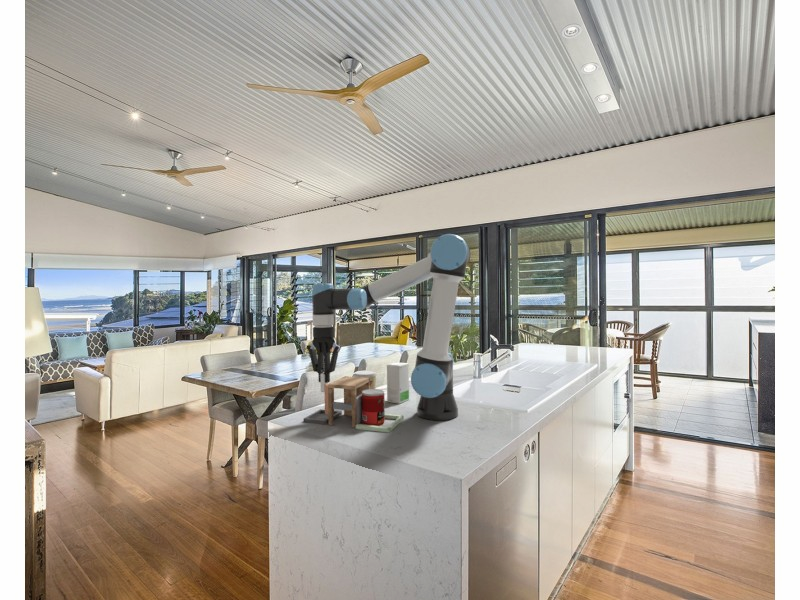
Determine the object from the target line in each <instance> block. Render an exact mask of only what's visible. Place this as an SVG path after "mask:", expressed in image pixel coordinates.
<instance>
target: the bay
mask: <svg viewBox="0 0 800 600" xmlns="http://www.w3.org/2000/svg"><path fill="white" fill-rule="evenodd" d="M404 418H405V417H404V415H403V414H402V415H401V414H390V413H385V419H386V420H387V419H389V420H394V421H393V422H392V423H391V424H390V425H389V426H382V425H379V426H373V425H364V424H363V423H360V424H357V425H356V428H355V430H362V431H363V430H364V431H372V432H382V433H391V432H392V431H393V430H394V429H395V428H396V427H398V425H399V424H400V423H401V422H402V421H403V420H404Z"/></svg>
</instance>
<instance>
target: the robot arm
mask: <svg viewBox="0 0 800 600" xmlns="http://www.w3.org/2000/svg"><path fill="white" fill-rule="evenodd" d="M470 259H471V249H470V246H469V245H468V244H467V241H465V239H464V238H463V237H461V236H459V235H457V234H453V233H446V234H442V235H440V236H439V237H437V238H436V239H435V240H434V241H433V243H432V245H431V247H430V252H429V254H428V256H427V257H424V258H422V259H420V260H418V261H416V262H413V263H411V264H409V265H407V266H405V267H403V268H401V269H398V270H396V271H393V272H392V273H390V274H387V275H385V276H383V277H381V278H379V279H377V280H375V281H373V282H370V283H368V284H366V285H364V286H361V287H359V288H357V287H356V288H355V287H354V288H353V287H352V288H334V287H335V286H334V284H333V283H314V284H313V285H312V290H311V291H312V292H311V293H312V294H311V298H312V300H311V301H312V326H313V327H312V337H313V338H312V342H311V343H310V344H308V345H306V349H307V351H308V352H309V357H310V362H311V366H312V367H311V368H312V370H313V372H314V373H315V372H316V373H317V375H318V383H320V393H325V391H324V385H326V384H329V383H331V378H330V377H331V373H333V372H335V370H336V366H337V360H338V356H339V352H340V350H341V349H342V346H341V345H339V344H337V343H336V341H335V339H334V337H335V327H334V324H335V319H334V318H335V316H334V314H335V311H338V310H339V311H341V310H342V311H350V310H351V311H358V310H364V309H367V308H369V307H371V306H372V305H373V304H376V303H377V302H381V301H382V300H384V299H387V298H389V297H391V296H393V295H396V294H398V293H400V292H402V291H404V290H407V289H409V288H411V287H414V286H417V285H418V284H421V283H423V282H425V281H428V280H430V279H432V283H431V284H432V285H431V286H432V287H431V293H430V298H429V304H428V309H427V310H428V311H427V318H426V324H425V329H424V330H425V331H424V337H423V344H422V349H420V350H419V351H418V352H417V353H416V357H415V358H416V360H415V363H414V364H415V366H414V368H413V370H412V372H411V375H410V382H411V387H412V388H413V390H414V391H415V393H417V394H418V395H419V396H420V398H419V401H418V404H417V407H416V415H417V416H418V417H419V418H422V419H424V420H430V421H447V420H453V419H454V418H457V417H458V416H459V407H458V404H457V402H456V398H455V394H454V364H453V363H454V357H453V354H452V353H450V352H449V347H450V340H451V334H452V327H453V322H454V315H455V310H456V303H457V297H458V291H459V290H458V289H459V284H460V282H462V281H463V280H464V279H465V276H466V271H467V265H468V263H469V262H470ZM331 351H332V352H331Z"/></svg>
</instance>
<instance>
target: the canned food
mask: <svg viewBox="0 0 800 600" xmlns="http://www.w3.org/2000/svg"><path fill="white" fill-rule="evenodd" d="M385 401H386V400H385V390H383V389H381V388H375V389H367V390H364V391H362V422H361V423H362V424H363V425H373V426H382V425H384V424H385V419H386V418H385V414H386V413H385V411H386V410H385Z"/></svg>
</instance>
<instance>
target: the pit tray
mask: <svg viewBox="0 0 800 600" xmlns="http://www.w3.org/2000/svg"><path fill="white" fill-rule="evenodd" d="M342 413H343V410H334V413H333V421H334V420H336V419H337V418H339V417H340V416H341V415H343V414H342ZM303 423H307V424H308V423H309V424H319V425H320V424H321V425H329V418H328V414H325V409H318V410H316V411H314V412H313V413H311V414H309V415H308V416H306V417H304V418H303Z"/></svg>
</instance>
